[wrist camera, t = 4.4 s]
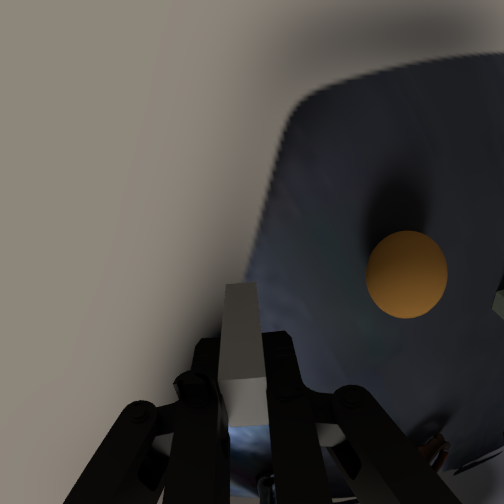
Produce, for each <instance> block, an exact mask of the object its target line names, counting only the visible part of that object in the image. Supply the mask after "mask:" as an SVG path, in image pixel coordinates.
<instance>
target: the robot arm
mask: <svg viewBox="0 0 504 504" xmlns="http://www.w3.org/2000/svg"><path fill="white" fill-rule="evenodd" d="M173 385H174V388H175V390H176V393H177V395H178V398H179V400H178V401H176V402H175V403H172V404H169V405H164V406H160V407H155V405H154V404H153V403H151V402H148V401H142V400H140V401H134V402H132V403H130V404H128V405H127V406H126V407H125V409H123V411H122V412H121V414H120V415H119V417H118V418H117V420H116V421H115V423H114V424H113V426H112V427H111V429H110V431H109V432H108V434H107V435H106V437H105V438H104V440H103V441H102V443H101V445H100V446H99V447H98V449H97V450H96V452H95V454H94V455H93V457H92V458H91V460H90V461H89V463H88V464H87V466H86V468H85V469H84V471H83V472H82V474H81V476H80V477H79V479H78V480H77V482H76V484H75V485H74V487H73V488H72V490H71V491H70V493H69V495H68V496H67V498H66V499H65V501H64V503H63V504H157V502H158V500H159V497H160V495H161V493H162V491H163V489H164V495H163V502H162V504H230V436H229V433H228V422H229V426H230V427H241V426H256V425H268V424H269V429H270V440H271V451H272V461H273V472H274V482H275V493H276V503H277V504H333V502H332V497H331V492H330V488H329V483H328V479H327V474H326V470H325V465H324V461H323V456H322V452H321V447H320V446H326V448H327V450H328V452H329V453H330V455H331V457H332V458H333V460H334V462H335V463H336V465H337V467H338V468H339V470H340V472H341V473H342V475H343V477H344V478H345V480H346V482H347V483H348V485H349V486H350V488H351V490H352V491H353V493H354V495H355V496H356V498H357V499H358V501H359V503H360V504H462V503H461V502H460V501H459V500H458V498H457V497H456V496H455V495H454V494H453V492H452V491H451V490H450V489H449V488H448V486H447V485H446V484H445V483H444V481H443V480H442V479H441V478H440V477H439V475H438V474H437V473H436V472H435V471H434V469H433V468H432V467H431V466H430V465H429V463H428V462H427V461H426V460H425V459H424V457H423V456H422V455H421V454H420V453H419V451H418V450H417V449H416V448H415V447H414V445H413V444H412V443H411V442H410V440H409V439H408V438H407V437H406V436H405V434H404V433H403V432H402V431H401V430H400V428H399V427H398V426H397V425H396V424H395V422H394V421H393V420H392V419H391V418H390V416H389V415H388V414H387V413H386V412H385V410H384V409H383V408H382V407H381V406H380V404H379V403H378V402H377V401H376V400H375V398H374V397H373V396H372V395H371V394H370V392H369V391H367V390H366V389H365V388H364V387H361V386H358V385H346V386H342V387H341V388H339V389H337V390H336V391H335V392H334V394H328V393H319V392H315V391H313V390H310V389H309V388H307V387H306V386H305V385H304V383H303V381H302V379H301V375H300V370H299V366H298V362H297V358H296V355H295V350H294V346H293V341H292V337H291V336H290V335H289V334H288V333H287V332H286V331H276V332H266V333H261V325H260V316H259V306H258V297H257V287H256V282H247V283H236V284H226V290H225V300H224V311H223V322H222V333H221V337H215V338H202V339H201V340H200V341H199V342H198V343H197V345H196V346H195V351H194V356H193V361H192V367H191V370H190V371H186V372H184V373H182V374H180V375H179V376H178V377H177V378H176V379H175V381H174V383H173ZM164 487H165V488H164Z"/></svg>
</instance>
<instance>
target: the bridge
mask: <svg viewBox="0 0 504 504" xmlns="http://www.w3.org/2000/svg"><path fill="white" fill-rule="evenodd" d="M492 309H493V310H494V311H495V312H496V313H497V314H498V315H499V316H500V317H502V318H503V319H504V290H501V291H497V292H496V296H495V299H494V303H493V306H492Z"/></svg>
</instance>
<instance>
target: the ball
mask: <svg viewBox="0 0 504 504" xmlns="http://www.w3.org/2000/svg"><path fill="white" fill-rule="evenodd" d="M366 282H367V287H368V291H369V293H370V296H371V297H372V299H373V301H374V302H375V303H376V304H377V306H378V307H379V308H380V309H382V310H383V311H384V312H386V313H387V314H389V315H392V316H394V317H399V318H414V317H417V316H420V315H422V314H424V313H426V312H428V311H429V310H430V309H432V308H433V307H434V306H435V305H436V304H437V302H438V301H439V300H440V298H441V296H442V294H443V292H444V290H445V287H446V283H447V264H446V260H445V257H444V255H443V253H442V251H441V249H440V248H439V246H438V245H437V244H436V243H435V242H434V241H433V240H432V239H431V238H429V237H428V236H426V235H424V234H422V233H419V232H415V231H399V232H396V233H393V234H391V235H389V236H387V237H385V238H384V239H383V240H382V241H380V242H379V243H378V244H377V246H376V247H375V248H374V250H373V251H372V253H371V255H370V257H369V260H368V263H367V269H366Z"/></svg>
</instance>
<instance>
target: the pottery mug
mask: <svg viewBox="0 0 504 504" xmlns="http://www.w3.org/2000/svg"><path fill="white" fill-rule="evenodd" d="M449 448H450V443H449V442H446V441H445V440H444V437H443V435H442V434H435V435H434V437H433V438H432V439H431V440H429V442H428V443H427V444H426V445H424V446H420V447H417V449H418V450H419V452H420V454H421V455H422V456H423V457H424V459H425V460H426V461H427V462H428V463H429V464H430V463H431V461H432V460H433V458H434V457H435V456H436V455H437V454H438V452H439V451H440V452H439V455H438V457H437V459H436V460H435V462H434V464H433V465H432V466H431V467H432V468H433V469H434V471H435V472H436V473H438V471H439V470H440V468H441V467H442V465H443V463H444V462H445V460H446V458H447V456H448V452H445V451H444V450H445V449H446V450H449Z"/></svg>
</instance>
